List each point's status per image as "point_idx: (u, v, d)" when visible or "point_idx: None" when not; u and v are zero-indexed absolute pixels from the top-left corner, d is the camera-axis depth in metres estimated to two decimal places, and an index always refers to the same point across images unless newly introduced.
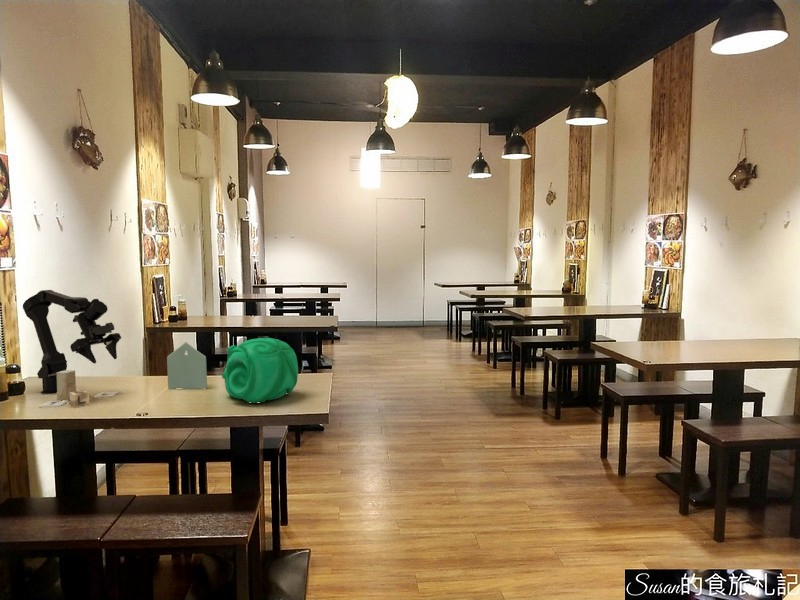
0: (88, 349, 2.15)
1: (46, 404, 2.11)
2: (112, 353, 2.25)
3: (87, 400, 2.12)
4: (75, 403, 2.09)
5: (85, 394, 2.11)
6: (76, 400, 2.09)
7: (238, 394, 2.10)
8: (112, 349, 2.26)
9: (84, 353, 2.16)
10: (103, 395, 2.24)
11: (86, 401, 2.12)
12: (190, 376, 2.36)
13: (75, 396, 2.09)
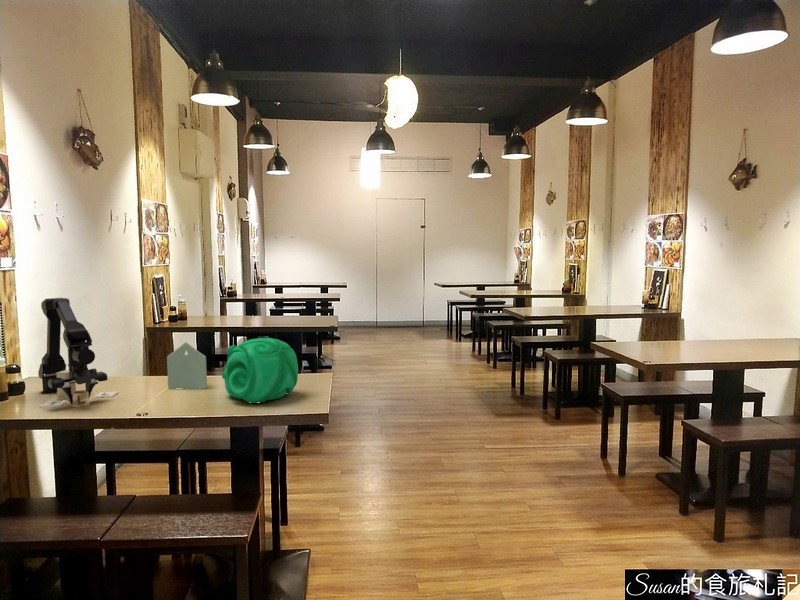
0: (67, 391, 2.08)
1: (46, 404, 2.11)
2: None
3: (87, 400, 2.12)
4: (75, 403, 2.09)
5: (85, 394, 2.11)
6: (76, 400, 2.09)
7: (238, 394, 2.10)
8: (87, 390, 2.14)
9: (65, 390, 2.10)
10: (103, 395, 2.24)
11: (86, 400, 2.12)
12: (190, 376, 2.36)
13: (75, 396, 2.09)
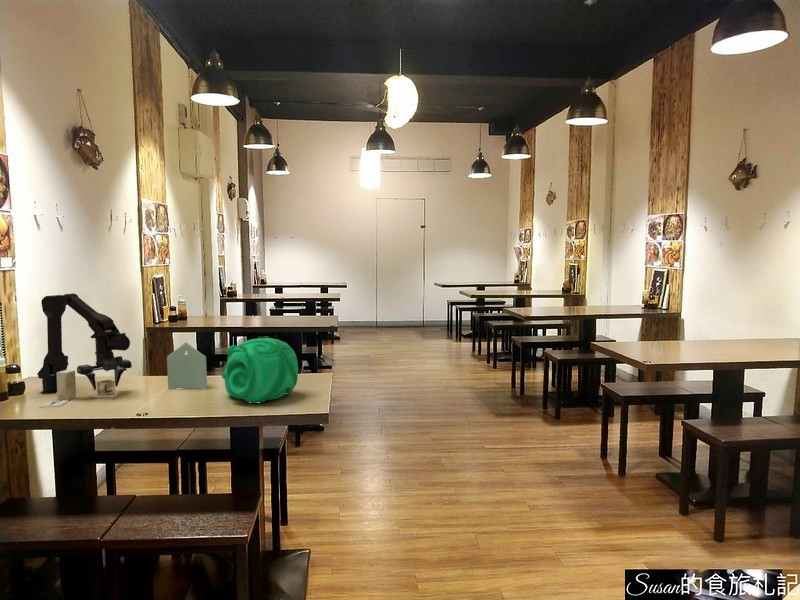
0: (91, 377, 2.21)
1: (46, 404, 2.11)
2: (115, 380, 2.29)
3: (113, 389, 2.26)
4: (102, 391, 2.23)
5: (111, 383, 2.25)
6: (103, 388, 2.23)
7: (238, 394, 2.10)
8: (116, 376, 2.29)
9: (89, 377, 2.23)
10: None
11: (112, 389, 2.26)
12: (190, 376, 2.36)
13: (102, 385, 2.23)
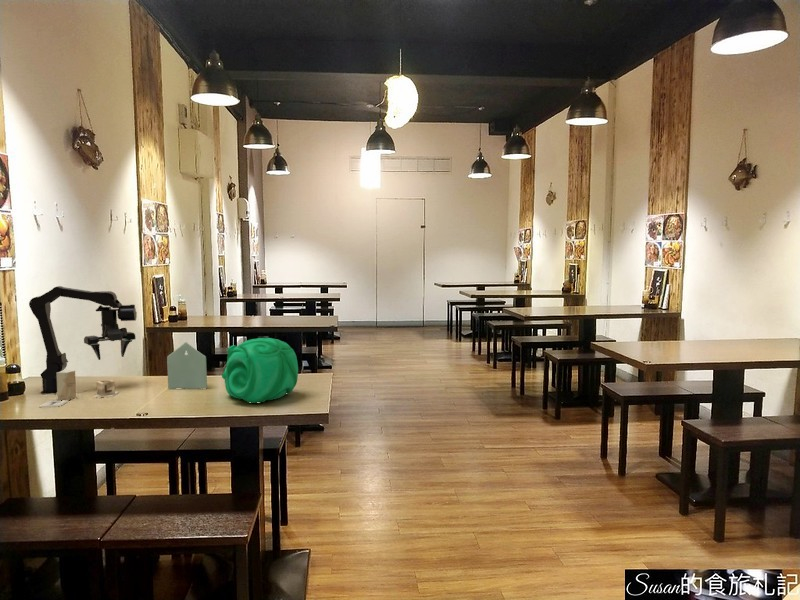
0: (96, 348, 2.33)
1: (46, 404, 2.11)
2: (121, 350, 2.42)
3: (113, 389, 2.26)
4: (102, 391, 2.23)
5: (111, 383, 2.25)
6: (103, 388, 2.23)
7: (238, 394, 2.10)
8: (122, 347, 2.42)
9: (94, 347, 2.35)
10: None
11: (112, 389, 2.26)
12: (190, 376, 2.36)
13: (102, 385, 2.23)
